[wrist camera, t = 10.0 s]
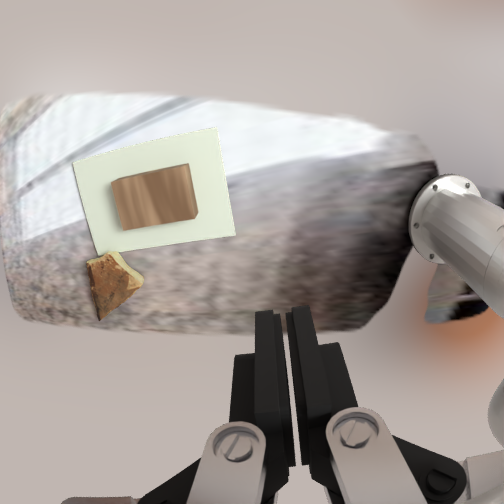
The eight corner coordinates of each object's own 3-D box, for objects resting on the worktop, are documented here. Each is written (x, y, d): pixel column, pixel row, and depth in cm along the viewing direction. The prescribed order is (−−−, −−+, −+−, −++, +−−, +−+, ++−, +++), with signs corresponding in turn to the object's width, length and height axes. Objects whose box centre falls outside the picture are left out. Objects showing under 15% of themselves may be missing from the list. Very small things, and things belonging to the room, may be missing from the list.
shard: (102, 315, 45) (98, 322, 44) (65, 281, 42) (61, 288, 40) (147, 279, 42) (144, 287, 41) (107, 240, 39) (102, 247, 38)
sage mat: (217, 127, 35) (216, 127, 34) (235, 233, 40) (235, 235, 39) (74, 161, 36) (72, 162, 35) (99, 253, 41) (98, 255, 40)
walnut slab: (184, 166, 33) (110, 182, 34) (194, 218, 36) (123, 230, 36) (188, 163, 36) (118, 178, 36) (198, 212, 38) (130, 223, 39)
